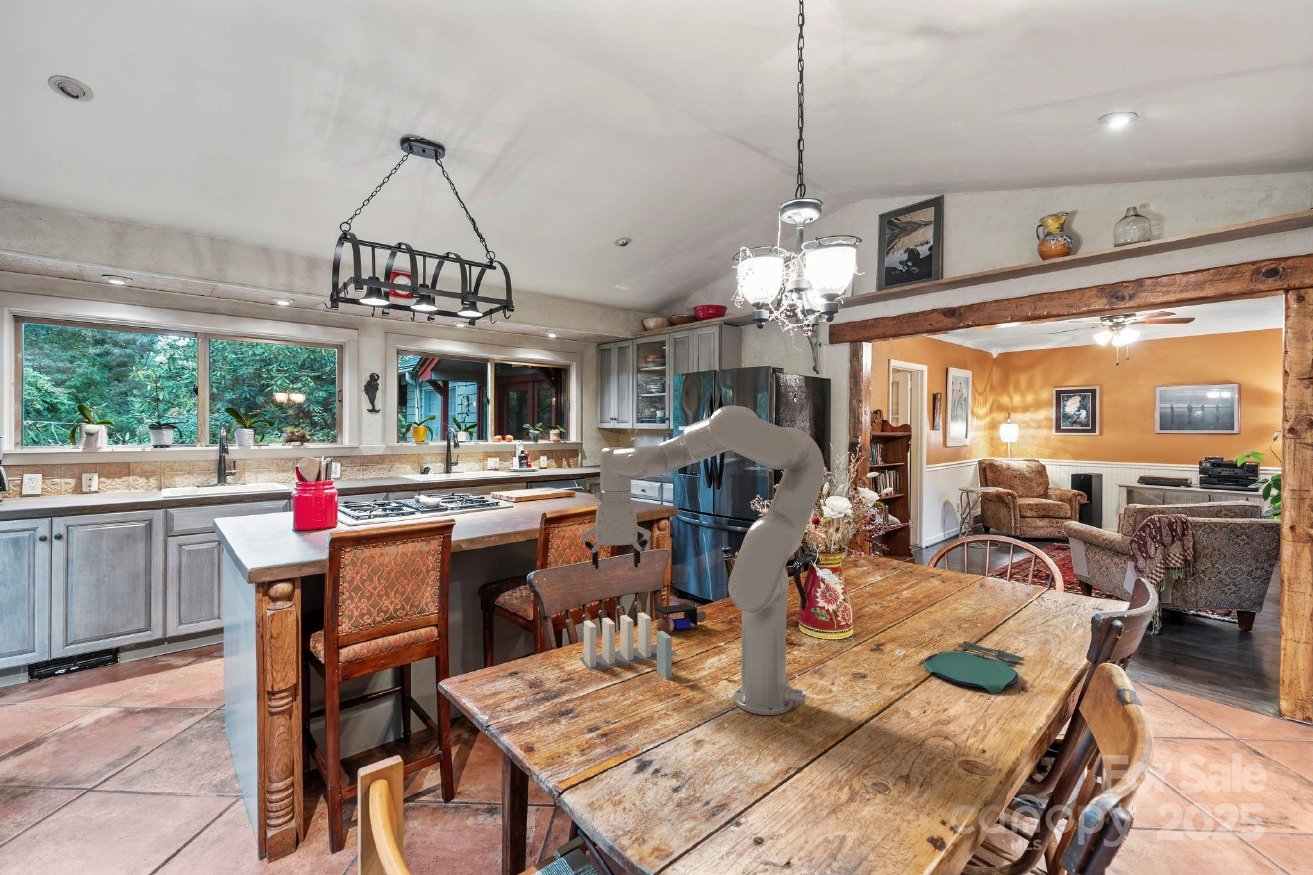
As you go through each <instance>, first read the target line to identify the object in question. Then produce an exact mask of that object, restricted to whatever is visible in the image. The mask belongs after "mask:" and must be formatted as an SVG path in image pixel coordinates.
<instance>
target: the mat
mask: <svg viewBox="0 0 1313 875" xmlns="http://www.w3.org/2000/svg"><path fill="white" fill-rule="evenodd" d="M675 656H678V654H677V652H675V651H674V650H672V657H675ZM578 659H579V660H580V662H581V663H582V664H583V665H584V666H585V667H586V669H587V670H588V671H589V672H594V671H599V670H605V669H609V668H615V667H620V666H626V665H631V664H632V665H633V664H636V663H643V662H647V661H653V660H657V643H656V644H651V656H650V657H644V656H643V655H642V654H641V653H640V652H639V651H638V647H633V660H628V661H627V660H626V659H625V658H624V657H623V656H622V655H621V654H620V650H615V663H612V664H608V663H607V661H606V660H605V659H604V658H603V657H602V653H600V654H596V667H589V666H588V665H587V663H586V662H585V661H584V656H582V657H581V656H580V657H578Z"/></svg>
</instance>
